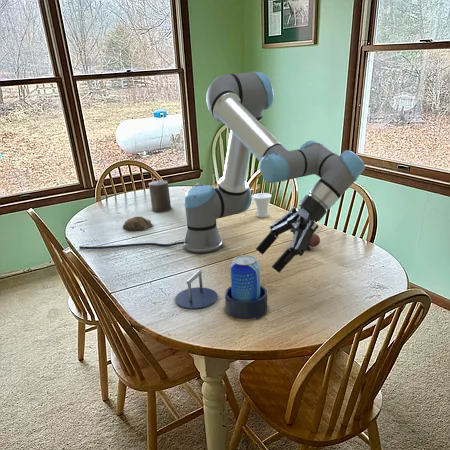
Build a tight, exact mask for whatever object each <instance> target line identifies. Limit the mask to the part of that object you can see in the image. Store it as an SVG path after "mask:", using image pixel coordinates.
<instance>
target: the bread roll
mask: <svg viewBox="0 0 450 450" xmlns="http://www.w3.org/2000/svg"><path fill="white" fill-rule="evenodd" d="M153 225H154V224H153V223H152V221H151V220H150V219H148V218H145V217H143V216H133V217H131V218H128V219H126V220H125V221H124V223H123V225H122V229H123V230H124V231H129V232H130V231H131V232H137V231H139V232H140V231H146V230H147V229H148V228H151V227H154V226H153Z"/></svg>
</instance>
